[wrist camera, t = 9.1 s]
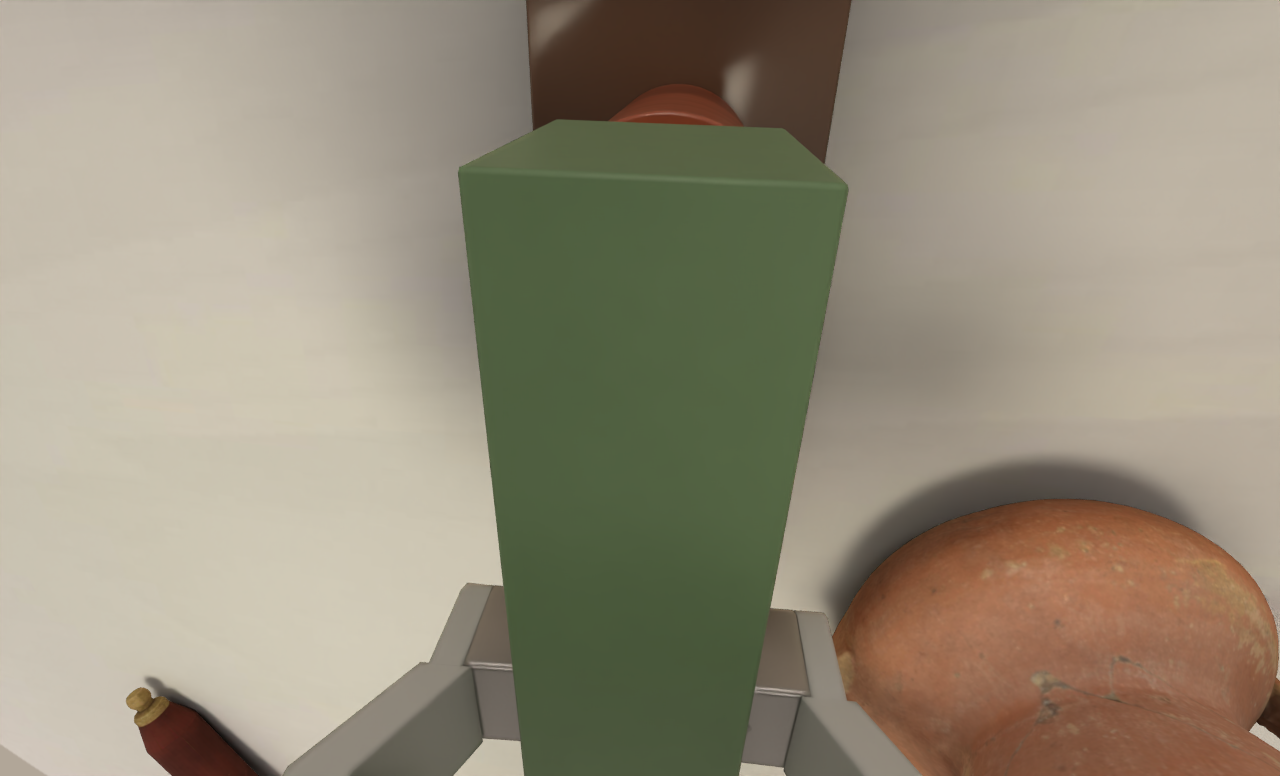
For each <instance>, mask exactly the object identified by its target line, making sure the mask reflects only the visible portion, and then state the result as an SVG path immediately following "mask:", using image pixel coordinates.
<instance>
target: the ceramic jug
mask: <svg viewBox="0 0 1280 776" xmlns="http://www.w3.org/2000/svg"><path fill="white" fill-rule="evenodd" d="M832 639H833V643H834V648H835V652H836V656H837V660H838V664H839V669H840V673H841V677H842V681H843V685H844V690H845V694H846V698H847V701H854V702H857V703H858V704H859V705H860V706H861V707H862V709H863V710H864V711H865V712H866V713H867V714H868V715H869V716H870V718H871V719H872V720H873V721H874V722H875V723H876V724H877V725H878V726H879V728H880V729H881V730H882V731H883V732H884V733H885V734H886V735H887V736H888V738H889V739H890V740H891V741H892V742H893V743H894V744H895V745H896V747H897V748H898V749H899V750H900V751H901V752H902V753H903V754H904V755H905V757H906V758H907V759H908V760H909V761H910V762H911V763H912V764H913V766H914V767H915V768H916V769H917V770H918V771H919V772H920V773H921V774H922V776H1280V751H1278V750H1277V749H1275V748H1273V747H1272V746H1270V745H1269V744H1267V743H1266V742H1264V741H1262V740H1261V739H1259V738H1258V737H1256V736H1255V735H1253V734H1252V733H1250V732H1249V731H1250V729H1251V728H1252V727H1253V725H1254V724H1255V723H1256V722H1257V723H1258V724H1259V725H1262V726H1264V727H1266V728H1267V729H1268V730H1269V731H1270V732H1272V733H1273V734H1275V735H1276V736H1277V737H1278V738H1279V739H1280V681H1279V680H1278V679H1277V678H1276V675H1277V670H1278V659H1279V654H1278V635H1277V629H1276V625H1275V621H1274V618H1273V615H1272V612H1271V610H1270V608H1269V605H1268V603H1267V601H1266V599H1265V597H1264V595H1263V593H1262V591H1261V590H1260V588H1259V586H1258V585H1257V583H1256V582H1255V581H1254V579H1253V578H1252V577H1251V576H1250V574H1249V573H1248V572H1247V571H1246V570H1245V568H1244V567H1243V566H1242V565H1241V564H1240V563H1239V562H1237V561H1236V560H1235V559H1234V558H1233V557H1232V556H1231V555H1229V554H1228V553H1227V552H1226V551H1224V550H1223V549H1222V548H1220V547H1219V546H1218V545H1216V544H1215V543H1213V542H1212V541H1210V540H1208V539H1207V538H1205V537H1204V536H1202V535H1200V534H1199V533H1197V532H1195V531H1193V530H1191V529H1189V528H1187V527H1185V526H1183V525H1181V524H1179V523H1176V522H1174V521H1171V520H1169V519H1167V518H1164V517H1161V516H1159V515H1156V514H1153V513H1150V512H1147V511H1143V510H1140V509H1136V508H1133V507H1129V506H1124V505H1119V504H1114V503H1109V502H1102V501H1095V500H1083V499H1044V500H1033V501H1025V502H1018V503H1012V504H1007V505H1002V506H998V507H993V508H989V509H986V510H983V511H979V512H975V513H972V514H968V515H964V516H961V517H958V518H955V519H952V520H950V521H947V522H945V523H942V524H940V525H938V526H936V527H934V528H932V529H930V530H928V531H926V532H924V533H922V534H921V535H919V536H917V537H916V538H914V539H912V540H911V541H909V542H908V543H906V544H905V545H903V546H902V547H901V548H899V549H898V550H897V551H895V552H894V553H893V554H892V555H891V556H889V557H888V558H887V559H886V560H885V561H884V562H883V563H882V564H881V565H880V566H879V567H878V568H877V569H876V570H875V571H874V572H873V573H872V574H871V575H870V577H869V578H868V579H867V580H866V581H865V583H864V584H863V586H862V587H861V588H860V590H859V591H858V593H857V594H856V596H855V597H854V599H853V601H852V602H851V604H850V606H849V608H848V610H847V612H846V613H845V615H844V617H843V618H842V619H841V621H840V623H839V625H838V627H837V629H836V631H835V633H834V634H833V636H832Z"/></svg>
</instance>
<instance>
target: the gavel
mask: <svg viewBox="0 0 1280 776" xmlns="http://www.w3.org/2000/svg"><path fill="white" fill-rule="evenodd" d="M126 703H127V705H128V707H129V708H131V709H134V710H137V711H138V712H137V713H136V715H135V717H134V723H135V724H136V725H137V726H138V727H139V730H140V733H141V736H142V739H143V742H144V745H145V748H146V751H147V753H148V754H149V755H150V756H152V757H153V758H154V759H155V760H156V761H157V762H158V763H159V764H160V765H161V766H162V767H163V768H164V769H165V770H166V771H167V772H168V773H170V774H171V775H172V776H259V775H258V774H257V773H256V772H255V771H254V770H253V769H252V768H251V767H250V766H249V765H248V764H247V763H246V762H245V761H244V760H243V759H242V758H241V757H240V756H239V755H238V754H237V753H236V752H235V751H234V750H233V749H232V748H231V747H230V746H229V745H228V744H227V743H226V742H225V741H224V740H223V739H222V738H221V737H220V736H219V735H218V734H217V733H216V732H215V731H214V729H213V728H212V727H211V726H210V725H209V724H208V723H207V722H206V721H205V720H204V719H203V718H202V717H201V716H200V715H199V714H198V713H197V712H196V711H195V710H193V709H190V708H187V707H185V706H182V705H179V704H177V703H174V702H171V701H169V700H168V699H167V698H166V697H162V696H159V697H156V698H154V699H153V698H152V697H151V693H150V691H149V690H148V689H146V688H138V689H136V690H134V691H133V692H132V693H131V694H130V695H129V696H128V697H127V698H126Z"/></svg>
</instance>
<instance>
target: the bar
mask: <svg viewBox="0 0 1280 776" xmlns="http://www.w3.org/2000/svg"><path fill="white" fill-rule="evenodd" d="M458 178H459V187H460V196H461V205H462V214H463V223H464V232H465V241H466V250H467V259H468V268H469V278H470V287H471V296H472V305H473V314H474V323H475V332H476V341H477V350H478V359H479V368H480V378H481V387H482V396H483V405H484V414H485V423H486V432H487V441H488V450H489V459H490V468H491V478H492V487H493V496H494V505H495V514H496V523H497V532H498V541H499V550H500V559H501V568H502V578H503V587H504V596H505V605H506V614H507V623H508V632H509V641H510V650H511V659H512V668H513V678H514V687H515V696H516V705H517V714H518V723H519V732H520V741H521V750H522V759H523V768H524V776H739V771H740V766H741V761H742V755H743V750H744V745H745V739H746V734H747V729H748V723H749V718H750V713H751V707H752V702H753V697H754V691H755V686H756V681H757V675H758V670H759V665H760V659H761V654H762V649H763V643H764V638H765V633H766V627H767V622H768V617H769V611H770V606H771V601H772V595H773V590H774V585H775V579H776V574H777V569H778V563H779V558H780V553H781V547H782V542H783V537H784V531H785V526H786V521H787V515H788V510H789V505H790V499H791V494H792V489H793V483H794V478H795V473H796V467H797V462H798V457H799V451H800V446H801V441H802V435H803V430H804V425H805V419H806V414H807V409H808V403H809V398H810V393H811V387H812V382H813V377H814V371H815V366H816V361H817V355H818V350H819V345H820V339H821V334H822V329H823V323H824V318H825V313H826V307H827V302H828V297H829V291H830V286H831V281H832V275H833V270H834V265H835V259H836V254H837V249H838V243H839V238H840V233H841V227H842V222H843V217H844V211H845V206H846V201H847V195H848V185H847V184H846V183H845V182H844V181H843V180H842V179H840V178H839V177H838V176H837V175H836V174H835V173H834V172H833V171H831V170H830V169H829V168H828V167H827V166H826V165H825V164H824V163H822V162H821V161H820V160H819V159H818V158H817V157H816V156H814V155H813V154H812V153H811V152H810V151H809V150H808V149H807V148H805V147H804V146H803V145H802V144H801V143H800V142H799V141H798V140H796V139H795V138H794V137H793V136H792V135H791V134H790V133H789V132H787V131H786V130H785V129H783V128H763V127H737V126H712V125H687V124H662V123H636V122H611V121H586V120H561V119H557V120H554V121H552V122H550V123H548V124H546V125H544V126H542V127H540V128H538V129H536V130H534V131H532V132H530V133H528V134H526V135H524V136H522V137H520V138H518V139H516V140H514V141H512V142H510V143H508V144H506V145H504V146H502V147H500V148H498V149H496V150H494V151H491V152H489V153H487V154H485V155H483V156H481V157H479V158H477V159H475V160H473V161H471V162H469V163H467V164H465V165H463V166H461V167H459V171H458Z"/></svg>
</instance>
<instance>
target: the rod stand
mask: <svg viewBox="0 0 1280 776" xmlns="http://www.w3.org/2000/svg"><path fill="white" fill-rule="evenodd" d="M850 6H851V0H526V8H527V27H528V46H529V66H530V85H531V104H532V123H533V131H534V130H536V129H538V128H540V127H542V126H544V125H546V124H548V123H550V122H552V121H554V120H557V119H561V120H586V121H611V122H636V123H662V124H687V125H712V126H737V127H763V128H783V129H785V130H786V131H787V132H789V133H790V134H791V135H792V136H793V137H794V138H795V139H796V140H798V141H799V142H800V143H801V144H802V145H803V146H804V147H805V148H807V149H808V150H809V151H810V152H811V153H812V154H813V155H814V156H816V157H817V158H818V159H819V160H820V161H821V162H822V163H825V157H826V151H827V145H828V139H829V133H830V127H831V121H832V115H833V109H834V103H835V97H836V91H837V85H838V79H839V73H840V67H841V61H842V55H843V49H844V43H845V37H846V31H847V25H848V19H849V13H850Z"/></svg>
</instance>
